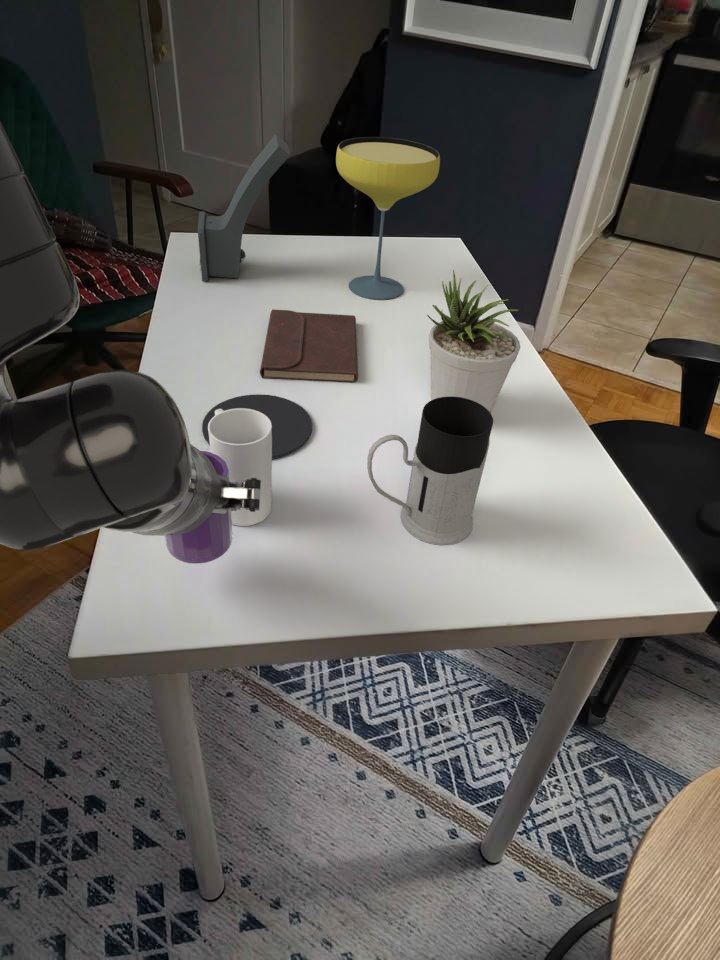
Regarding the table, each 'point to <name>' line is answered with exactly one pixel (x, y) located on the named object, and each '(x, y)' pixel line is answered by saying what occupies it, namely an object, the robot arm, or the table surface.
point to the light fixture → (236, 216)
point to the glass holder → (443, 469)
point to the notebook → (310, 347)
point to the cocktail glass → (385, 189)
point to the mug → (245, 454)
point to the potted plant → (470, 350)
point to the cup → (205, 531)
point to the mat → (272, 420)
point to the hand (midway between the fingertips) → (198, 497)
